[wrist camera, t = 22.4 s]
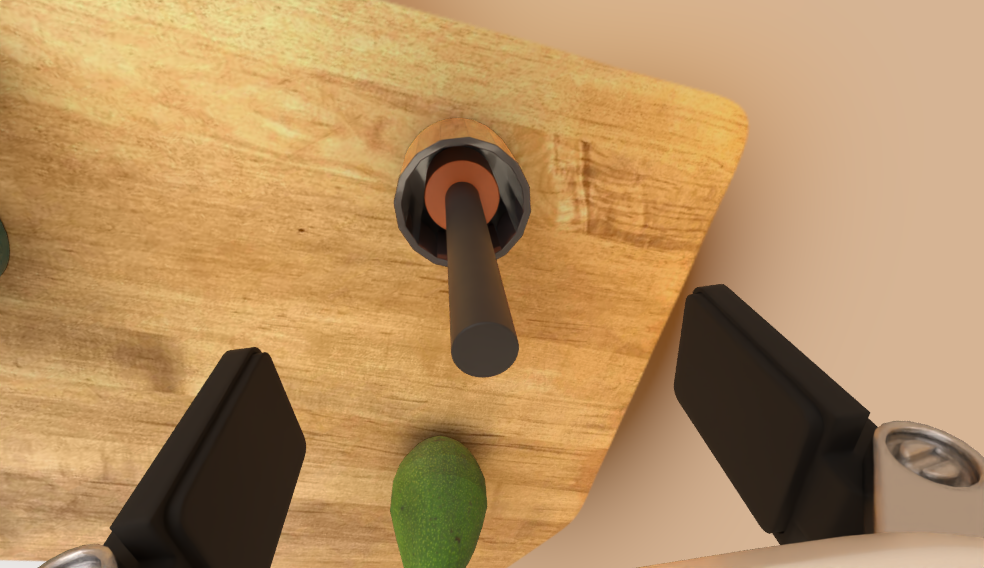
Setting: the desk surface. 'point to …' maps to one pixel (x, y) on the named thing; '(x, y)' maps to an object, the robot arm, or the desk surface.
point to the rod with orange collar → (471, 261)
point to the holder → (412, 180)
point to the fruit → (438, 504)
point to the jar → (3, 249)
